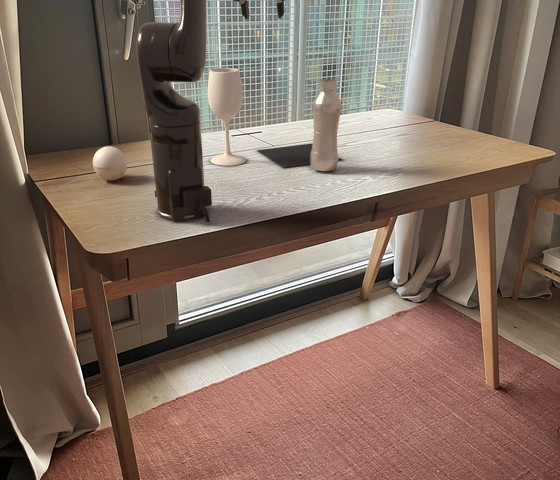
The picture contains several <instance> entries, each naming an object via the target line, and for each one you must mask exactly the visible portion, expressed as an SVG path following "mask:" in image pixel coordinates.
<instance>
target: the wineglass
mask: <svg viewBox="0 0 560 480" xmlns="http://www.w3.org/2000/svg"><path fill="white" fill-rule="evenodd" d="M207 80H208V81H207V101H208V106H209V108H210V110H211V111H212V113H213V114H214V115H215V116H216V117H217V118H219V119H220V120H221V121H222V122H223V126H224V127H223V128H224V140H225V142H224V153H221V154H217V155H214V156H213V157H212V158H210V162H211V164H212V165H215V166H221V167H222V166H223V167H228V166H229V167H230V166H238V165H242V164H244V163H245V162H246V160H247V159H246V157H244V156H242V155H240V154H236V153H232V151H231V145H230V122H231V121H232V119H234V118H235V117H236V116H238V114H239V113H240V112H241V110H242V107H243V103H244V90H243V83H242V82H243V81H242V77H241V73H240V70H239V69H238V68H233V67H217V68H211V69H210V70H209V73H208V79H207Z"/></svg>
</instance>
